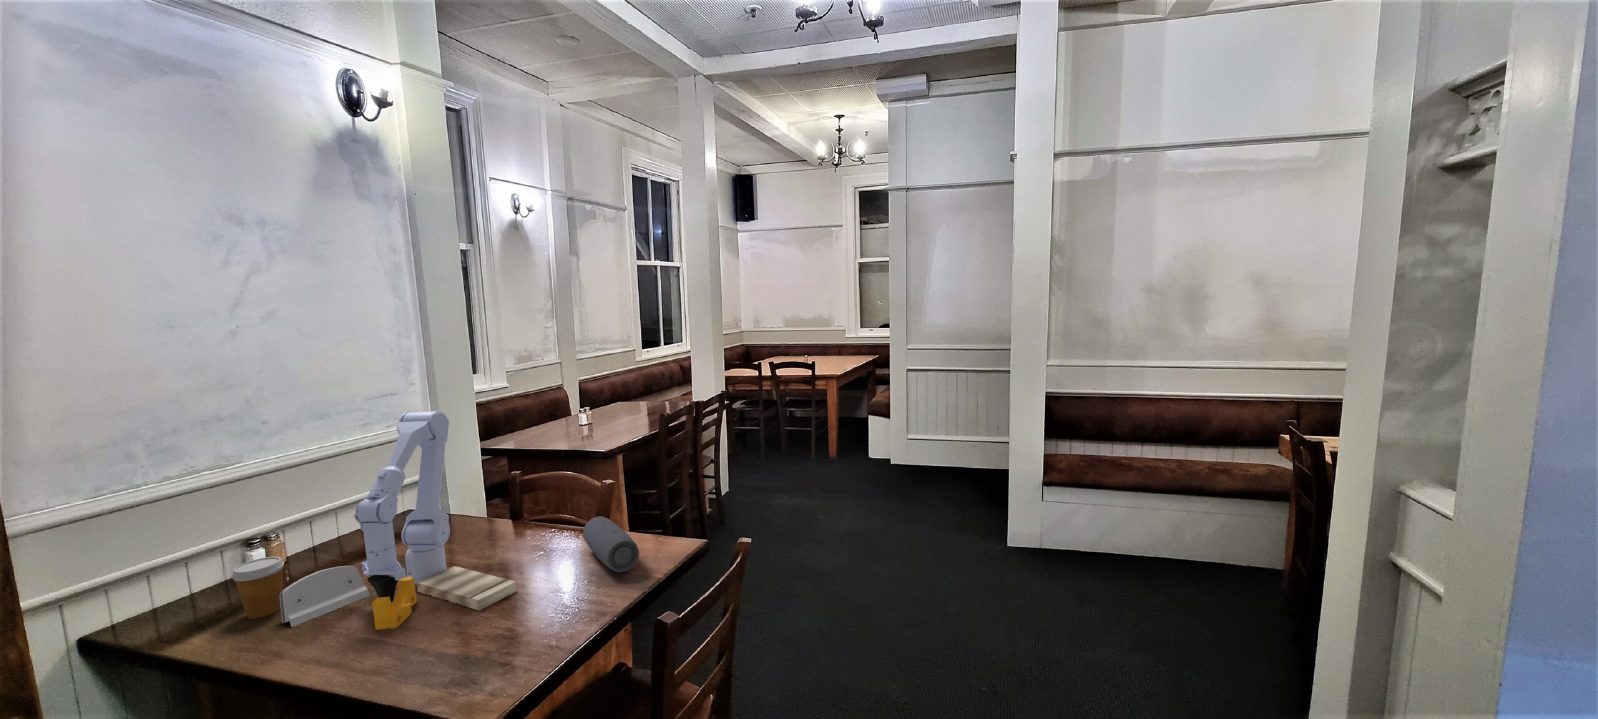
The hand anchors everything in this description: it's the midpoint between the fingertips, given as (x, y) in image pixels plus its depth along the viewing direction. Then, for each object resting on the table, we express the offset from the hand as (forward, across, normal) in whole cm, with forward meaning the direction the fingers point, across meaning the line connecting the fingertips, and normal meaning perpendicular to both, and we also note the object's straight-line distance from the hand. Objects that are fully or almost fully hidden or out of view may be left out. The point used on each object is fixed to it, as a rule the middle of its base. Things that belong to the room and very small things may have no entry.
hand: (387, 602), depth 146 cm
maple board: (+1, +10, +13) cm, 17 cm away
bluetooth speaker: (+2, +32, +40) cm, 51 cm away
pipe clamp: (+2, +6, -1) cm, 6 cm away
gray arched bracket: (+2, -16, -6) cm, 17 cm away
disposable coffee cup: (+2, -28, -13) cm, 31 cm away
